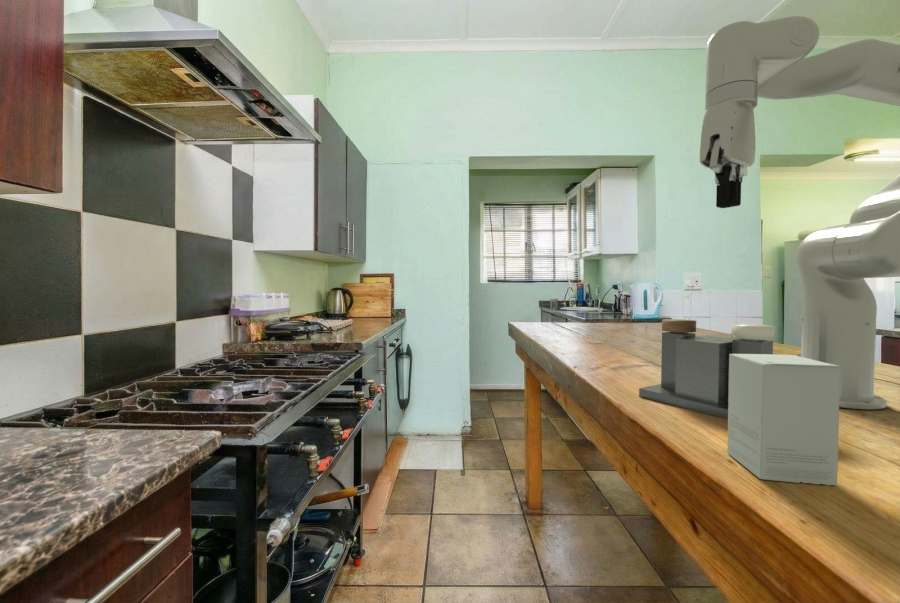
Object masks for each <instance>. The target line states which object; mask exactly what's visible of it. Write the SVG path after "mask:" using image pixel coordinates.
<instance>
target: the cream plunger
mask: <svg viewBox="0 0 900 603" xmlns="http://www.w3.org/2000/svg"><path fill="white" fill-rule="evenodd" d="M730 334H731V335H730V336H731V337H730V338H739V339H742V340H744V341H754V342H762V341H763V340H769V341H773V340H775V339H776V326H775V325H770V324H758V323H757V324H756V323H733V324H731V333H730Z"/></svg>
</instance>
